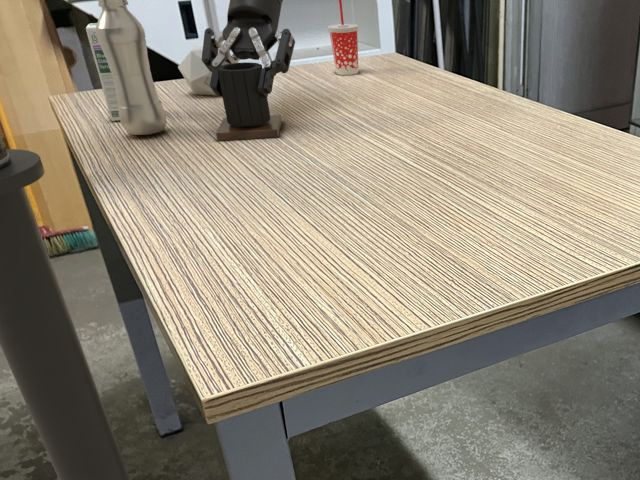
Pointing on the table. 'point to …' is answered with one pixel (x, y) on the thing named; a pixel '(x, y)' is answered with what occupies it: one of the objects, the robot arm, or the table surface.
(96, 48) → the syrup box
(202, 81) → the die
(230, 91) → the black hollow cylinder
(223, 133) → the peg stand
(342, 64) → the beverage cup
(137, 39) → the plastic bottle
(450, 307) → the table surface
